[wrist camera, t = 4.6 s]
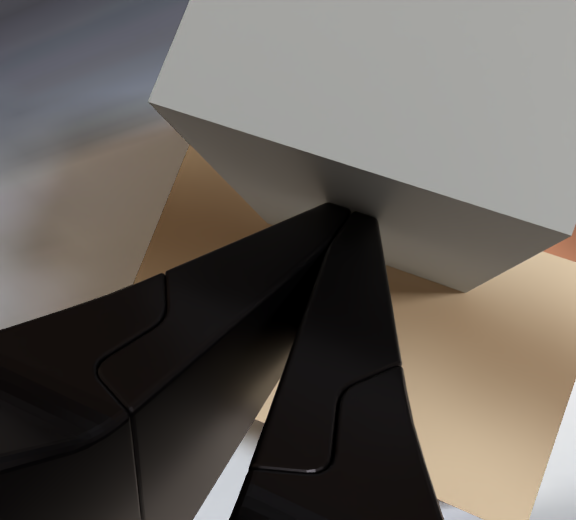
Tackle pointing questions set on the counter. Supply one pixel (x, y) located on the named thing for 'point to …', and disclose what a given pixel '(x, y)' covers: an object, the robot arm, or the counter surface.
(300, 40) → the gray block
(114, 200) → the counter surface
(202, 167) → the trap box
